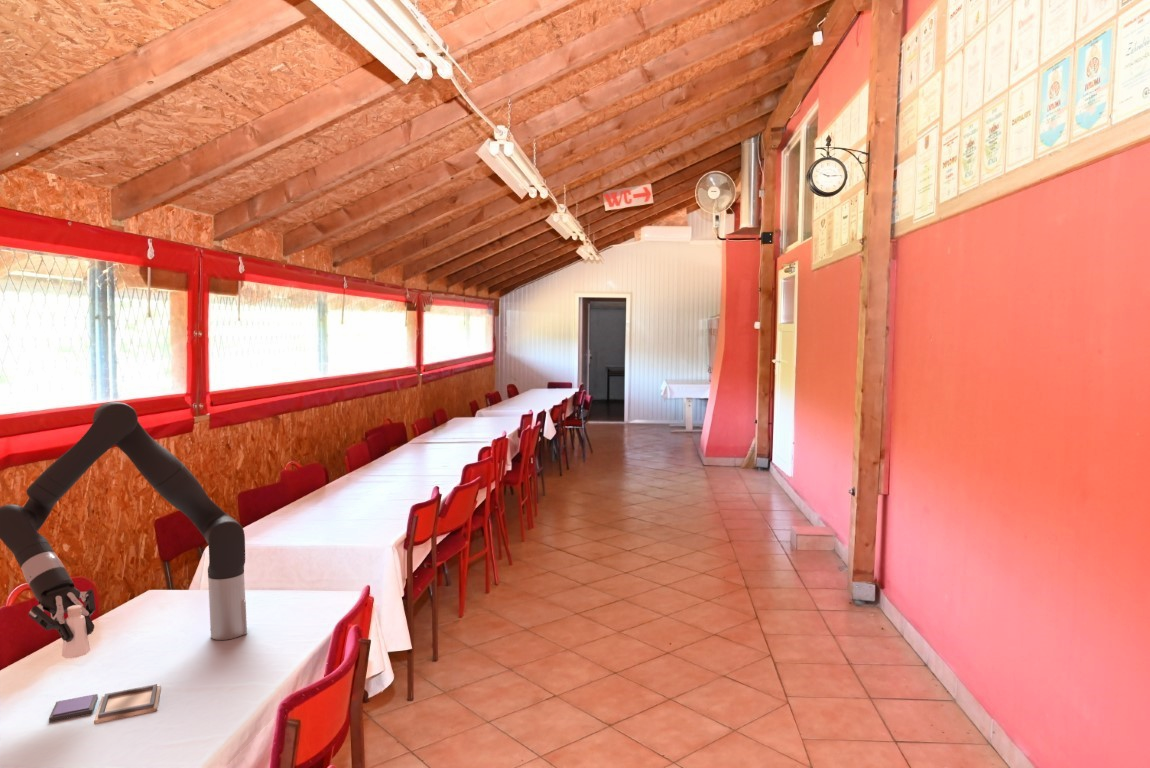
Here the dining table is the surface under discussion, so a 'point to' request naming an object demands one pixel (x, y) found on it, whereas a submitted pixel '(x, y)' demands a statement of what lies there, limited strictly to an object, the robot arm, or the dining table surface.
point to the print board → (128, 703)
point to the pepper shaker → (76, 634)
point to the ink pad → (73, 708)
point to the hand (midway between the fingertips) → (80, 635)
